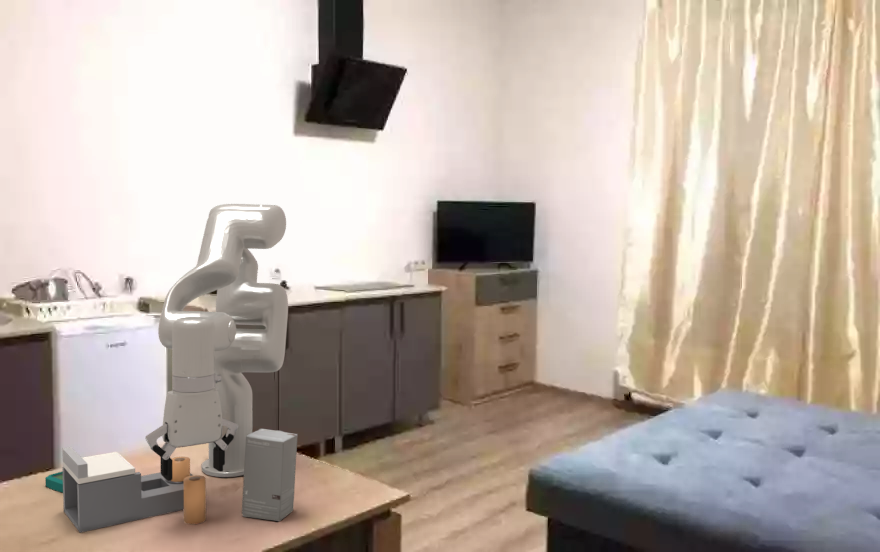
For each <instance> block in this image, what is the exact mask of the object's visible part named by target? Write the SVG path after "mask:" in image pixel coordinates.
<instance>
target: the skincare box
mask: <svg viewBox="0 0 880 552" xmlns="http://www.w3.org/2000/svg"><path fill="white" fill-rule="evenodd" d="M297 448H298V433H291V432H286V431H283V430H273V429H266V428H259V429H258V430H255V431H252V433H251V434H249V435H247V436H246V446H245V464H244V475H243V484H242V499H241V500H242V502H241V515H242V517H245V518H253V519H260V520H268V521H275V522H281V521H282V520H283V519H284V518H286V517H287V516H288V515H290V514H291V513H293V511H294V503H295V488H296V487H295V486H296V485H295V484H296V467H297V452H298V451H297V450H298V449H297Z"/></svg>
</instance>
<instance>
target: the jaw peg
mask: <svg viewBox="0 0 880 552" xmlns="http://www.w3.org/2000/svg"><path fill="white" fill-rule="evenodd" d="M192 475H193V476H188V477H186V478H184V480H183V481H184V509H183V522H184V523H185V524H188V525H197V524H202V523H204V522H206V519H207V495H206V493H207V492H206V491H207V489H206V487H207V486H206V485H207V484H206V483H207V482H206V481H207V479H206V478H207V477H206V476H204V475H201V474H200V475H199V474H198V475H197V474H196V475H195V474H192Z"/></svg>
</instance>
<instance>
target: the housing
mask: <svg viewBox="0 0 880 552" xmlns="http://www.w3.org/2000/svg"><path fill="white" fill-rule="evenodd" d="M170 458H171V459H172V480H171V481H168V480H166V479H165V478H164V477H163V476H162V475H161V471H160V472H156V473H150V474H145V475H142V473H141V472H140V471H135V474H130V475H124V476H119V477H114V478H108V479H103V480H98V481H93V482H87V483H82V484H78V483H77V482H76V481H75V480H74V478H73V477H72V476H71V475H70V474H69V473H68V471H67V470H66V469H65V468H64V467H63V466H62V471H63V493H62V495H63V497H62V499H63V500H62V501H63V513H64V514H65V515H66V517H68V519H69V520H70V522H71V523H72V524H73V526H74V527H75V528H76V529H77V531H78V532H79V533H85V532H89V531H94V530H98V529H103V528H107V527H111V526H116V525H120V524H124V523H125V524H126V523H129V522H133V521H139V520H143V519H147V518H151V517H156V516H159V515H161V516H162V515H164V514H169V513H174V512H178V511H184V481H183V480H184V478H186V477H188V476H193V475H194V474H192V473H191V458H190V457H188V456H175V457H170Z"/></svg>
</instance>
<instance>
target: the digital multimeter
mask: <svg viewBox="0 0 880 552" xmlns="http://www.w3.org/2000/svg"><path fill="white" fill-rule="evenodd" d="M44 478H45V483H44V484H45V487H46V488H49V489H51V490H53V491H56V492H59V493H62V494H63V470H62V471H59V472H56V473H51V474H49V475H47V476H45V477H44Z"/></svg>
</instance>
